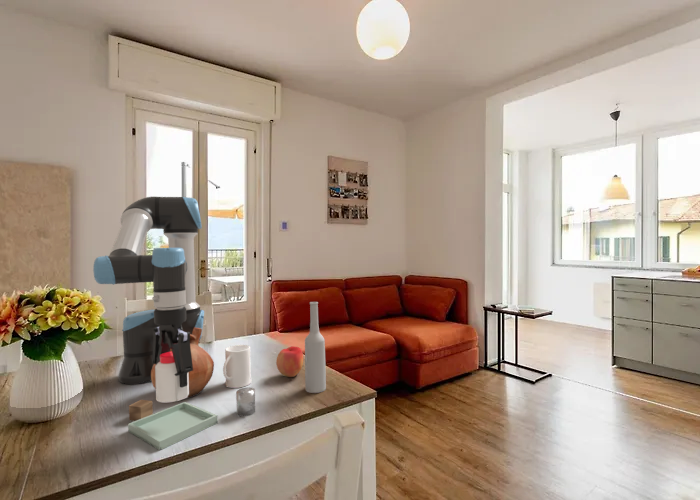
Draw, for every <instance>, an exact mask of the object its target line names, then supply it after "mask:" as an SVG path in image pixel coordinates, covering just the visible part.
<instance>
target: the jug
mask: <svg viewBox="0 0 700 500" xmlns="http://www.w3.org/2000/svg"><path fill="white" fill-rule="evenodd" d="M201 332H202V333H203V329H201V328H195V327H194V329H193V332H192V335H191V334H190V348H191V356H192V364H193V371H190V372H188V373H189V395H188V397H187V398H186V399H189V398H191V397H195V396H197V395H199V394H200V393H202V392H203V390H204V389H205V388H206V387H207V385H208V383H209V382H210V381H211V379H212V377H213V373H214V368H215V362H214V359H213V357H212V356H211V355H210V354H209V352H208V351H206V349H204V348H203V347H201V346H200V345H199V342H200V340H201V339H200V335H201ZM199 339H200V340H199ZM171 351H172V349H170V352H171ZM155 366H156V364H154V365H153V367H152V370H151V380H152V381H151V383H152V386H153V388H154V389H155V390H156V381H155Z"/></svg>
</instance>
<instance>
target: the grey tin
mask: <svg viewBox="0 0 700 500" xmlns="http://www.w3.org/2000/svg"><path fill="white" fill-rule="evenodd" d="M235 395H236V397H235V398H236V415H237V416H239V417H249V416H251V415H253V414H255V413H256V390H255V388H253V387H250V386H249V387H248V386H246V387H240V389H239V388H238V389H237V390H236V394H235Z"/></svg>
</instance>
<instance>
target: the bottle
mask: <svg viewBox="0 0 700 500" xmlns="http://www.w3.org/2000/svg"><path fill="white" fill-rule="evenodd" d="M318 304H319V302H318V301H310V302H309V305H310V306H309V307H310V308H309V309H310V310H309V311H310V313H309V314H310V317H309V318H310V320H309V321H310V322H309V327H310V328H309V333H308V335H307V336H306V337H305V339H304V372H305V374H304V375H305V376H304V384H305V387H304V388H305V391H306V392H307V393H310V394H311V393H312V394H318V393H323V392H324V391H326V390H327V384H326V383H327V382H326V381H327V376H326V375H327V373H326V372H327V371H326V370H327V369H326V347H325V346H326V342H325V341H326V340H325V338H324V336H323V335H322V334H321V332H320V328H319V307H318V306H319V305H318Z"/></svg>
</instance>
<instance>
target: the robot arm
mask: <svg viewBox="0 0 700 500" xmlns="http://www.w3.org/2000/svg"><path fill="white" fill-rule="evenodd" d="M199 207H200V206H199V203H198V200H197V199H196V198H195V197H194V198H193V197H186V196H147V197H143V198H141V199H138V200H136V201H134V202H132V203H131V204H130V205H128V206H127V207H126V208H125V209H124V210H123V212H122V214H121V215H120V216H121V217H120V224H121V225H120V227H119V228H120V229H119V230H118V233H117V236H116V238H115V241H114V243H113V244H112V248H111V249H110V252H109V255H102V256H98V257H96V258H95V260H94V262H93V270H92V271H93V276H94V277H93V278H94V280H95V282H96V283H97V284H99V285H122V284H136V283H137V284H139V283H152V287H153V289H152V290H153V291H152V292H153V296H152V301H153V307H154V308H155V309H148V310H143V311H137V312H135V313H131V314H128V315H127V316H125V317H124V318H123V320H122V330H121V331H122V341H123V342H122V343H123V344H122V345H123V359H122V363H121V366H120V368H119V369H120V370H119V372H118V382H119V383H120V382H121V384H124V383H125V384H126V385H134V384H135V385H137V384H144V383H147V382H148V383H149V382H152V380H151V370H152V367H153V365H154V364H157V363H158V362H159V361H160V355H161V354H163V353H166V352H170V349H172V353H173V357H174V361H175V366H176V370H177V373H176V374H175V385H176V401H175V402H178V401H181V400H186V399H188V398H187V397H188V389H187V384H188V382H187V373H188V372H190V371H193V364H192V356H191V348H190V334H191V335H192V332H193V329H194V327H195V328H201V329H202V330H203V328H204V319H205V318H204V317H205V310H203V309H201V304H199V303H198V302H196V299H197V298H196V275H195V274H196V272H195V271H196V270H195V241H194V240H195V238H196V236H198V234H199V230H201V229H203V227H202V226H203V225H202V219H201V214H200V210H199V209H200V208H199ZM154 229H155V230H162V231H163V235H164V236H165V237H166V238H167V239H168V243H167V244H168V247H155V248H154V249H153V250H152V254H142V252H143V247H144V244H145V241H146V237H147V233H148V232H150V230H154ZM202 335H203V331H202V332H201V335H200V339H199V341H201V339H202ZM125 384H124V385H125Z"/></svg>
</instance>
